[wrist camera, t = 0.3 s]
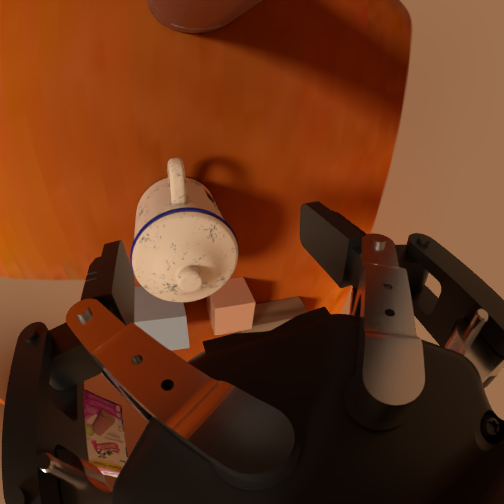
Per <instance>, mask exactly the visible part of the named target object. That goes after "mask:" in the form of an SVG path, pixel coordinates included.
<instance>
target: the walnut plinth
mask: <svg viewBox="0 0 504 504" xmlns="http://www.w3.org/2000/svg"><path fill="white" fill-rule="evenodd" d="M306 312H308V310H307V309H306V307H305V306H304V304H303V303H302V301H301V299H300V298H299V297H293V298H288V299H282V300H277V301H271V302H265V303H259V304H255V309H254V316H253V323H252V329H249V330H243V331H238V332H235V333H249V332H262V331H270V330H272V329H274V328H276V327H278V326H280V325H282V324H283V323H285V322H287V321H289V320H290V319H292V318H294V317H296V316H297V315H300V314H303V313H306Z"/></svg>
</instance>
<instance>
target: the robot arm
mask: <svg viewBox="0 0 504 504" xmlns="http://www.w3.org/2000/svg"><path fill="white" fill-rule="evenodd" d="M261 1H262V0H148V2H149V7H150V9H151V12H152V14H153V15H154V16H155V18H156V19H157V20H158V21H159V22H161V23H162V24H163V25H165V26H167V27H169V28H171V29H173V30H176V31H180V32H184V33H205V32H210V31H214V30H216V29H219V28H222V27H224V26H225V25H227V24H229V23H230V22H232V21H233V20H234V19H236V18H237V17H239V16H240V15H242V14H243V13H245V12H246V11H247V10H249V9H250V8H252V7H253V6H255V5H256V4H258V3H259V2H261ZM300 240H301V243H302V245H303V247H304V248H305V249H306V250H307V251H308V252H309V253H310V255H311V256H312V257H313V258H314V259H315V260H316V261H317V262H318V263H319V264H320V266H321V267H322V268H323V269H324V270H325V271H326V272H327V273H328V274H329V276H330V277H331V278H332V279H333V280H334V281H335V282H336V283H337V284H338V286H339V287H340V288H343V287H346V286H349V285H352V286H353V288H352V293H351V303H350V314H349V315H347V314H330V313H329V312H328V310H327V309H326V308H325V307H322V308H319V309H316V310H313V311H309V312H306V313H303V314H300V315H297V316H296V317H294V318H292V319H290V320H289V321H287V322H285V323H283V324H282V325H280V326H278V327H276V328H274V329H272V330H270V331H262V332H249V333H235V334H231V335H227V336H223V337H219V338H215V339H211V340H207V341H203V345H204V348H205V351H204V352H202V353H200V354H198V355H197V356H195V357H194V358H192V359H191V360H190V361H188V362H186V361H185V360H183V359H182V358H180V357H179V356H177V355H176V354H175V353H173V352H172V351H170V350H169V349H168V348H166V347H165V346H163V345H162V344H161V343H159V342H158V341H157V340H155V339H154V338H153V337H151V336H150V335H149V334H147V333H146V332H145V331H143V330H142V329H141V328H140V327H138V326H137V325H136V324H134V297H135V281H134V276H133V272H132V269H131V266H130V263H129V260H128V257H127V254H126V251H125V248H124V245H123V242H122V241H121V240H119V241H115V242H111V243H107V244H105V245H104V248H103V252H102V255H101V257H98V258H95V260H94V261H93V262H92V263H91V265H90V266H89V270H88V273H87V274H88V275H87V277H86V282H85V285H84V288H83V292H82V297H81V301H79V302H77V303H76V304H74V305H73V306H72V307H71V308H70V309H69V311H68V313H67V315H66V323H64V324H62V325H60V326H58V327H56V328H54V329H52V330H48V329H47V327H46V325H45V324H44V323H42V322H35V323H32V324H30V325H28V326H27V327H26V328H25V329H24V330H23V331H22V332H21V333H20V335H19V337H18V340H17V344H16V348H15V352H14V357H13V361H12V365H11V370H10V376H9V381H8V387H7V393H6V401H5V408H4V419H3V431H2V480H3V492H4V499H5V502H6V504H504V420H501V419H500V418H499V417H497V415H496V414H495V413H494V412H493V410H492V408H491V406H490V404H489V402H488V399H487V397H486V394H485V391H484V388H485V387H486V386H488V385H489V384H490V382H491V381H492V380H493V379H494V378H495V377H496V376H497V374H499V372H500V371H501V370H502V369H503V368H504V300H503V299H502V298H501V297H500V296H499V295H498V294H497V293H496V292H495V291H494V290H493V289H491V288H490V287H489V286H488V285H487V284H486V283H485V282H484V281H483V280H482V279H481V278H479V277H478V276H477V275H476V274H475V273H474V272H473V271H472V270H470V269H469V268H468V267H467V266H466V265H464V264H463V263H462V262H461V261H460V260H459V259H457V258H456V257H455V256H453V254H451V253H450V252H449V251H448V250H446V249H445V248H444V247H442V246H441V245H440V244H439V243H437V242H436V241H435V240H434V239H432V238H431V237H429V236H426V235H424V234H418V233H414V234H411V235H410V236H409V238H408V242H407V245H395V244H394V242H393V241H392V240H391V239H390V238H388V237H386V236H384V235H380V234H366V233H365V232H363V231H362V230H361V229H359V228H358V227H357V226H355V225H354V224H352V223H351V222H350V221H349V220H346V218H345V217H343V216H342V215H341V214H339V213H337V212H334V211H332V210H330V209H328V208H327V207H325V206H324V205H323V204H321V203H320V202H318V201H317V202H311V203H305V204H302V206H301V213H300ZM429 273H430V274H432V275H433V276H434V277H435V278H436V279H437V280H438V281H439V282H440V284H441V294H440V296H439V299H438V297H437V296H435V295H434V293H432V291H431V290H430V289H429V288H428V287H426V286H425V282H426V279H427V277H428V274H429ZM414 316H415V317H416V318H417V319H418V320H419V321H420V323H421V324H422V325H423V326H424V327H425V328H426V330H427V331H428V332H429V333H430V334H431V335H432V337H433V338H434V339H435V340H436V342H437V343H438V344H439V345H440V346H438V345H435V344H433V343H430V342H427V341H424V340H421V339H420V338H419V337H417V335H416V328H415V321H414ZM100 373H101V374H102V375H103V376H104V377H105V378H106V379H107V380H108V381H109V383H111V385H112V386H113V387H114V388H115V389H116V390H117V391H118V392H119V393H120V394H121V395H122V396H123V397H124V398H125V399H126V400H127V401H128V402H129V403H130V404H131V405H132V406H133V407H134V408H135V409H136V410H137V411H138V413H139V414H140V415H142V416H143V417H144V418H145V419H146V420H147V421H148V422H149V423H148V424H147V426H146V428H145V430H144V431H143V433H142V435H141V437H140V438H139V440H138V442H137V443H136V445H135V447H134V449H133V451H132V452H131V454H130V456H129V457H128V459H127V461H126V463H125V464H124V466H123V468H122V470H121V471H120V473H119V475H118V477H117V478H116V481H115V483H114V486H113V490H112V491H111V490H110V489H109V488H108V486H107V484H106V482H105V479H104V476H103V474H102V473H101V471H100V470H99V469H98V468H97V467H96V466H95V465H93V464H92V463H90V462H89V457H88V449H87V439H86V428H85V412H84V381H85V380H88V379H90V378H92V377H94V376H96V375H98V374H100Z"/></svg>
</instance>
